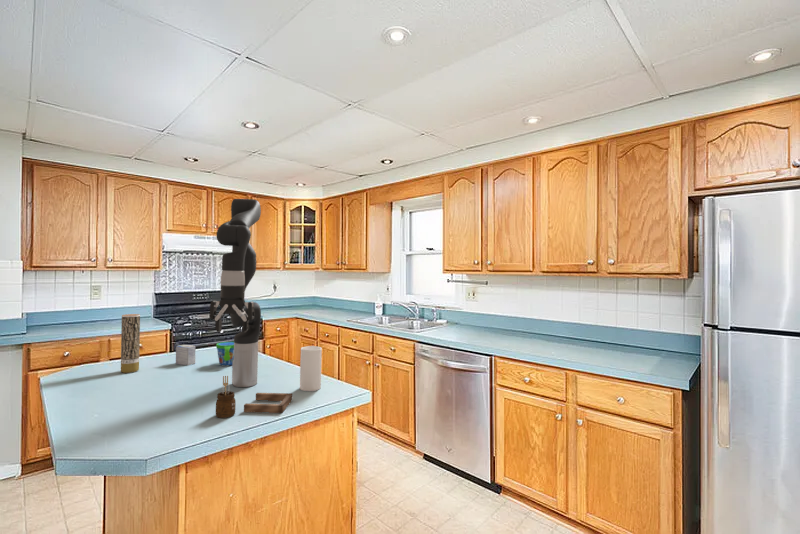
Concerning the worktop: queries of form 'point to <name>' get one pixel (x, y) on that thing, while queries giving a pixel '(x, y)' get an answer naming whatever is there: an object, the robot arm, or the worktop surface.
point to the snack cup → (225, 353)
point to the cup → (310, 368)
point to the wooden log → (130, 343)
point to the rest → (270, 408)
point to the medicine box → (185, 354)
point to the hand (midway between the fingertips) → (231, 331)
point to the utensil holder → (225, 402)
